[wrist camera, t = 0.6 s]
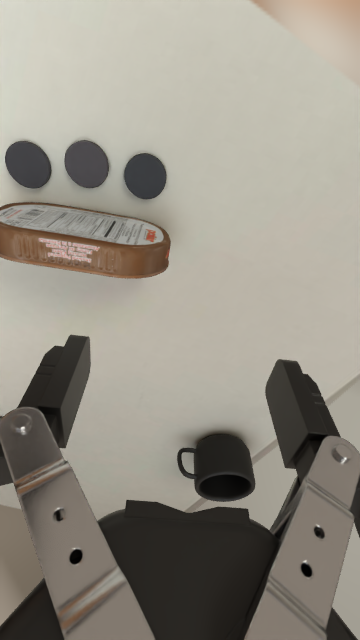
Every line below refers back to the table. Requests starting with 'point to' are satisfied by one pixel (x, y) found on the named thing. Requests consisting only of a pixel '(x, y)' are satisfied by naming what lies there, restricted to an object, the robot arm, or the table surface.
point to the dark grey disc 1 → (28, 164)
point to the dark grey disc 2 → (86, 164)
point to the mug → (221, 468)
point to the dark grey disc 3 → (145, 176)
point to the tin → (82, 240)
